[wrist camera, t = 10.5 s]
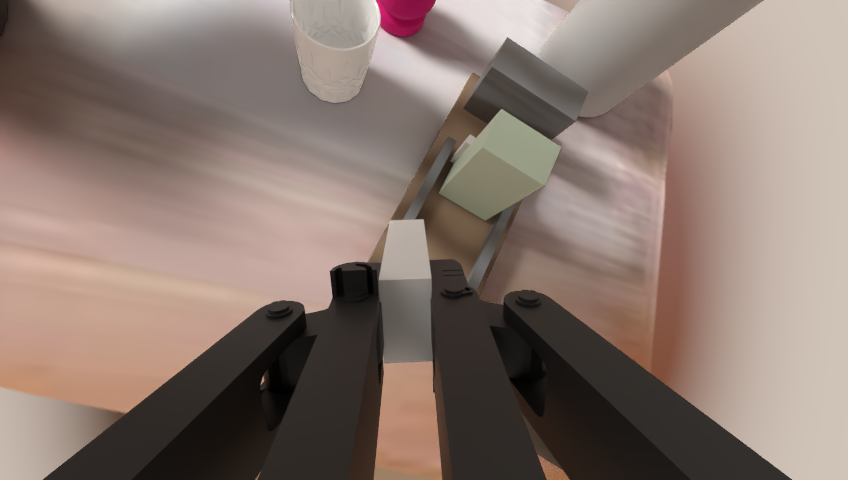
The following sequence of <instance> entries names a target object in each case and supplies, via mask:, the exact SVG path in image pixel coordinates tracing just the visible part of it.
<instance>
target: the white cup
mask: <svg viewBox="0 0 848 480" xmlns="http://www.w3.org/2000/svg"><path fill="white" fill-rule="evenodd" d="M290 12H291V18H292V24H293V31H294V37H295V44H296V49H297V54H298V59H299V63H300V66H301V72H302V79H303V81H304V83H305V84H306V86H307V88H308V90H309V91H310V92H311V93H312V94H314V95H315V96H316V97H318V98H319V99H321V100H324V101H328V102H332V103H339V102H346V101H349V100H350V99H352V98H353V97H354V96H356V95H357V94H358V93H359V91H360V89H361V87H362V85H363V82H364V78H365V76H366V73H367V70H368V67H369V63H370V60H371V57H372V54H373V50H374V46H375V42H376V38H377V35H378V31H379V28H380V23H381V14H380V9H379V6H378V4H377V1H376V0H290Z"/></svg>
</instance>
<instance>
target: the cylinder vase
mask: <svg viewBox="0 0 848 480" xmlns="http://www.w3.org/2000/svg"><path fill="white" fill-rule="evenodd" d="M762 1H763V0H580V1H579V2H578V3H577V5H576V6H575V7H574V8H573V10H572V11H571V12H570V13H569V14H568V16H567V17H566V18H565V19H564V20H563V22H562V23H561V24H560V25H559V27H558V28H557V29H556V30H555V31H554V33H553V34H552V35H551V36H550V38H549V39H548V40H547V41H546V42H545V44H544V45H543V47H542V49H541V52H540V55H539V59H541V60H542V61H544V62H545V63H547V64H548V65H550V66H551V67H553V68H554V69H556V70H557V71H559V72H560V73H562V74H563V75H565V76H566V77H568V78H569V79H571V80H572V81H574V82H575V83H577V84H578V85H580V86H581V87H583V88H584V89H586V90H587V91H589V92H588V94H587V96H586V99H585V101H584V103H583V106H582V108H581V110H580V113H579V115H578V116H579V117H596V116H600V115H602V114H604V113H606V112H608V111H609V110H611V109H612V108H613V107H615V106H616V105H618V104H619V103H620V102H622V101H623V100H625V99H626V98H627V97H629V96H630V95H632V94H633V93H634V92H636V91H637V90H639V89H640V88H641V87H643V86H644V85H646V84H647V83H648V82H650V81H651V80H653V79H654V78H655V77H657V76H658V75H660V74H661V73H662V72H664V71H665V70H667V69H668V68H669V67H671V66H672V65H674V64H675V63H676V62H678V61H679V60H681V59H682V58H683V57H684V56H686V55H688V54H689V53H690V52H692V51H693V50H695V49H696V48H697V47H699V46H700V45H702V44H703V43H704V42H706V41H707V40H709V39H710V38H711V37H713V36H714V35H716V34H717V33H718V32H720V31H721V30H723V29H724V28H725V27H727V26H728V25H730V24H731V23H732V22H734V21H735V20H737V19H738V18H739V17H741V16H742V15H744V14H745V13H746V12H748V11H749V10H751V9H752V8H753V7H755V6H756V5H758V4H759V3H760V2H762Z"/></svg>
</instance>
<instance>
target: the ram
mask: <svg viewBox="0 0 848 480" xmlns="http://www.w3.org/2000/svg"><path fill="white" fill-rule="evenodd" d="M560 149H561V146H559V145H557V144H556V143H554V142H553V141H551V140H550V139H548V138H546V137H545V136H543V135H542V134H540V133H539V132H537V131H535V130H534V129H532V128H531V127H529V126H528V125H526V124H525V123H523V122H521V121H520V120H518V119H517V118H515V117H514V116H512V115H510V114H509V113H507V112H506V111H504V110H503V109H501V110H500V111H499V112H498V113H497V115H496V116H495V117H494V118H493V119H492V120H491V121H490V123H489V124H488V125H487V126H486V127H485V128H484V130H483V131H482V132H481V133H480V134H479V135H478V136H477V138H475V137H474V136H472V135H469V136H468V137H467V139H466V140H465V141H464V142H463V143H462V145H461V146H460V147H459V148H458V150H457V151H456V152H455V153H454V155H453V156H452V158H451V160H450V162H452V163H453V166H452V168H451V170H450V172H449V174H448V176H447V178H446V179H445V181H444V183H443V185H442V187H441V189H440V191H439V194H440V195H442V196H444V197H446V198H447V199H449V200H451V201H452V202H454V203H456V204H458V205H459V206H461V207H463V208H464V209H466V210H468V211H469V212H471V213H473V214H475V215H476V216H478V217H480V218H481V219H483V220H485V221H486V220H487V219H489V218H491V217H492V216H494V215H496V214H497V213H499V212H501V211H503V210H504V209H506V208H508V207H509V206H511V205H513V204H515V203H516V202H518V201H520V200H521V199H523V198H525V197H527V196H528V195H530V194H532V193H533V192H535V191H537V190H539V189H540V188H542V187H544V186H545V184H546V182H547V179H548V177H549V175H550V172H551V170H552V168H553V166H554V163H555V161H556V159H557V156H558V154H559V152H560Z"/></svg>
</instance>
